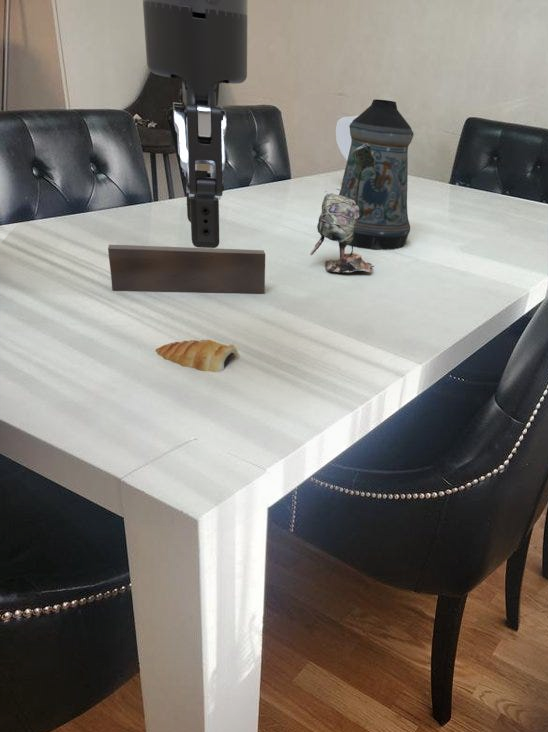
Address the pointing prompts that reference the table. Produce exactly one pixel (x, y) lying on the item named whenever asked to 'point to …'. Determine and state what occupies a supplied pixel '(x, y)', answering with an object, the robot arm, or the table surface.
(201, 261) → the backstop
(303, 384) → the table surface
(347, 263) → the bird figurine
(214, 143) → the robot arm
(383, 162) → the beer stein
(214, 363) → the pastry
